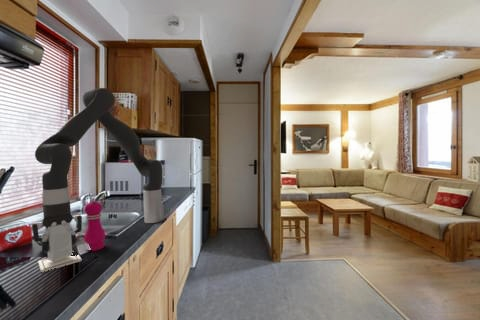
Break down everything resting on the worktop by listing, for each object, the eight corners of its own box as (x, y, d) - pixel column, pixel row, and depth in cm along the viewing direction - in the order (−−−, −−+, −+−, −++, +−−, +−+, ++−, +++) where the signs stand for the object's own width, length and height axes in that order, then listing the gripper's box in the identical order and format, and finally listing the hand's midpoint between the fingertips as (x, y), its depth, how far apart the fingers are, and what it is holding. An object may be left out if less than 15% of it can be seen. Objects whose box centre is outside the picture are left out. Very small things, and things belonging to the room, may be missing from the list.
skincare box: (66, 253, 87) (64, 220, 87) (72, 255, 85) (70, 222, 85) (47, 259, 82) (44, 225, 82) (52, 262, 80) (50, 227, 79)
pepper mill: (80, 249, 94) (77, 199, 93) (98, 243, 100) (96, 195, 99) (91, 253, 90) (88, 200, 89) (109, 246, 97) (107, 197, 96)
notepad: (75, 252, 91) (75, 250, 91) (81, 260, 84) (81, 258, 84) (38, 262, 83) (38, 260, 83) (41, 272, 76) (41, 270, 76)
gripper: (78, 196, 90) (81, 239, 91) (28, 203, 80) (31, 251, 81) (83, 199, 85) (86, 245, 86) (30, 206, 75) (33, 258, 76)
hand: (59, 248), depth 84 cm, fingers closed on skincare box, 6 cm apart
